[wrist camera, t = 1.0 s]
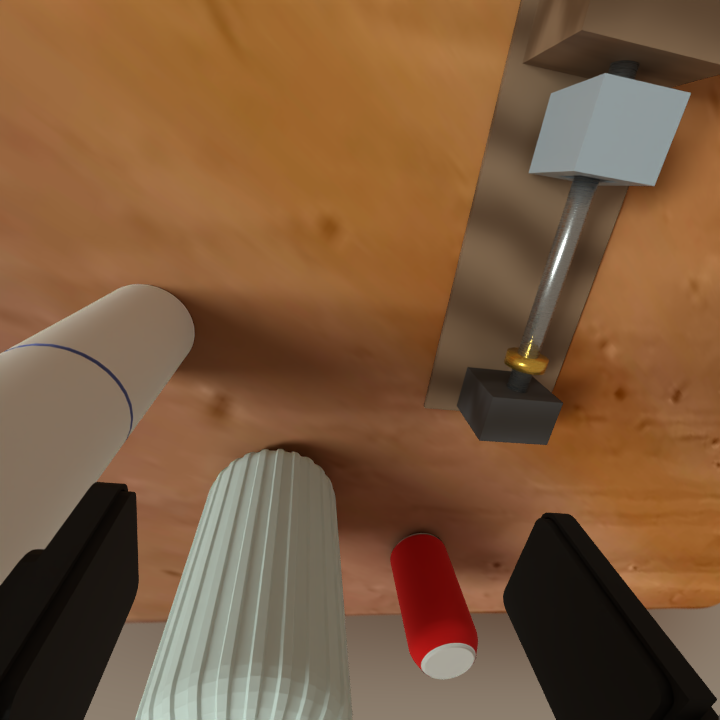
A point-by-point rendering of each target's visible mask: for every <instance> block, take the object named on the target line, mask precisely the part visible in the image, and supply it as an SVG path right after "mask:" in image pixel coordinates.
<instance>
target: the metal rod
mask: <svg viewBox="0 0 720 720" xmlns="http://www.w3.org/2000/svg"><path fill="white" fill-rule="evenodd" d="M639 65H640V64H639V63H638V62H635V61H629V60H621V61H615V62H612V63H611V64H610V67H609V70H608V74H612V75H616V76H620V77H625V78H629V79H633V80H635V77H636V74H637V71H638V68H639ZM599 181H600V179H598V178H593V177H587V176H582V175H575V176H574V179H573V182H572V185H571V188H570V191H569V194H568V197H567V201H566V204H565V207H564V210H563V213H562V216H561V219H560V222H559V225H558V228H557V232H556V235H555V238H554V241H553V244H552V247H551V250H550V253H549V256H548V259H547V263H546V266H545V269H544V272H543V275H542V278H541V281H540V284H539V287H538V290H537V294H536V297H535V300H534V303H533V306H532V309H531V312H530V315H529V318H528V321H527V325H526V328H525V331H524V334H523V337H522V340H521V343H520V346H519V348H517V347H512V348H508V349H507V353H506V356H505V359H504V363H505V364H506V365H507V366H508V367H510V368H512V371H511V374H510V377H509V380H508V383H507V387H508V388H509V389H511V390H512V391H515V392H519V393H526V392H527V389H528V386H529V383H530V380H531V378H532V375H542V374H544V373H545V371H546V368H547V365H548V362H549V359H548V358H547V357H545V356H544V355H542V354H540V352H541V349H542V346H543V343H544V340H545V337H546V334H547V331H548V328H549V326H550V323H551V320H552V317H553V314H554V311H555V308H556V305H557V302H558V299H559V297H560V294H561V291H562V288H563V285H564V282H565V279H566V276H567V273H568V271H569V268H570V265H571V262H572V259H573V256H574V253H575V250H576V247H577V245H578V242H579V239H580V236H581V233H582V230H583V227H584V224H585V221H586V219H587V216H588V213H589V210H590V207H591V204H592V201H593V198H594V195H595V192H596V190H597V187H598V184H599Z"/></svg>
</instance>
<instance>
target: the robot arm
mask: <svg viewBox="0 0 720 720" xmlns="http://www.w3.org/2000/svg"><path fill="white" fill-rule="evenodd" d="M138 583H139V575H138V541H137V508H136V493H135V492H128V488H127V485H126V484H118V483H103V482H95V483H93V484H92V485H91V487H90V488H89V489H88V490H87V492H86V493H85V495H84V496H83V497H82V499H81V500H80V501H79V503H78V504H77V506H76V507H75V508H74V510H73V511H72V512H71V514H70V515H69V517H68V518H67V519H66V521H65V522H64V523H63V525H62V526H61V528H60V529H59V530H58V532H57V533H56V534H55V536H54V537H53V539H52V540H51V541H50V543H49V544H48V545H47V547H46V548H45V549H34V550H31V551H30V552H28V553H27V554H25V555H24V557H23V558H22V559H21V560H20V561H19V562H18V563H17V565H16V566H15V567H14V568H13V570H12V571H11V572H10V574H9V575H8V576H7V577H6V579H5V580H4V581H3V583H2V584H1V585H0V720H84V717H85V715H86V713H87V710H88V708H89V706H90V703H91V701H92V698H93V696H94V694H95V691H96V689H97V687H98V684H99V682H100V679H101V677H102V675H103V672H104V670H105V668H106V665H107V663H108V661H109V658H110V656H111V654H112V651H113V649H114V647H115V644H116V642H117V640H118V637H119V635H120V633H121V630H122V628H123V625H124V623H125V621H126V618H127V616H128V614H129V611H130V609H131V607H132V604H133V602H134V599H135V596H136V593H137V589H138ZM503 601H504V606H505V609H506V611H507V613H508V615H509V617H510V620H511V622H512V624H513V626H514V629H515V631H516V633H517V635H518V637H519V640H520V642H521V644H522V646H523V648H524V650H525V653H526V655H527V657H528V659H529V661H530V663H531V666H532V668H533V670H534V672H535V675H536V676H537V679H538V681H539V683H540V685H541V687H542V690H543V692H544V694H545V696H546V699H547V701H548V703H549V705H550V707H551V709H552V712H553V714H554V716H555V718H556V720H720V715H719V716H718V715H717V714H716V712H715V711H714V710H713V708H712V707H711V706H712V705H713V704H714V703H715V702H716V700H717V699H716V697H715V696H714V695H713V693H711V691H710V690H709V688H708V687H707V686H706V684H705V683H704V682H703V681H702V679H701V678H700V677H699V676H698V674H697V673H696V672H695V671H694V669H693V668H692V667H691V665H690V664H689V663H688V662H687V661H686V659H685V658H684V657H683V655H682V654H681V653H680V651H679V650H678V649H677V648H676V646H675V645H674V644H673V643H672V641H671V640H670V639H669V637H668V636H667V635H666V634H665V632H664V631H663V630H662V629H661V627H660V626H659V625H658V624H657V622H656V621H655V620H654V618H653V617H652V616H651V615H650V613H649V612H648V611H647V610H646V608H645V607H644V606H643V604H642V603H641V602H640V601H639V599H638V598H637V597H636V596H635V594H634V593H633V592H632V590H631V589H630V588H629V587H628V585H627V584H626V583H625V582H624V580H623V579H622V578H621V577H620V575H619V574H618V573H617V571H616V570H615V569H614V568H613V566H612V565H611V564H610V563H609V561H608V560H607V559H606V557H605V556H604V555H603V554H602V552H601V551H600V550H599V549H598V547H597V546H596V545H595V544H594V542H593V541H592V540H591V538H590V537H589V536H588V535H587V533H586V532H585V531H584V530H583V528H582V527H581V526H580V524H579V523H578V522H577V521H576V519H575V518H574V517H573V516H571V515H569V514H561V513H545V514H543V515H542V517H541V518H539V519H538V520H537V521H536V522H535V525H534V527H533V529H532V531H531V533H530V536H529V538H528V540H527V542H526V544H525V547H524V549H523V551H522V553H521V555H520V558H519V560H518V562H517V564H516V566H515V569H514V571H513V573H512V575H511V577H510V580H509V582H508V584H507V586H506V588H505V591H504V594H503Z"/></svg>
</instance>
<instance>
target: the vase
mask: <svg viewBox="0 0 720 720" xmlns="http://www.w3.org/2000/svg"><path fill="white" fill-rule="evenodd" d="M135 720H352V703H351V689H350V676H349V664H348V651H347V639H346V626H345V613H344V600H343V587H342V574H341V562H340V549H339V536H338V524H337V511H336V498H335V493H334V490H333V486H332V483H331V481H330V479H329V477H328V476H326V475H325V472H324V470H323V469H322V468H321V467H320V466H319V465H317V464H314V462H313V460H312V459H310V458H308V457H302V456H300V454H299V453H297V452H294V451H293V452H291V453H290V452H285V451H284V450H283V449H278V450H277V451H269V449H264V450H261V452H258V453H255V452H250V453H248V454H246V455H245V456H244V457H243V458H237V459H236V460H234V461H233V462H231V463H230V465H229V467H226V468H224V469H223V470H222V471H221V472H220V473H219V475H218V477H217V479H216V481H214V483H213V485H212V487H211V489H210V492H209V495H208V498H207V501H206V504H205V507H204V510H203V513H202V516H201V519H200V522H199V525H198V528H197V531H196V534H195V538H194V541H193V544H192V547H191V550H190V553H189V556H188V559H187V562H186V565H185V568H184V571H183V574H182V577H181V580H180V583H179V586H178V589H177V593H176V596H175V599H174V602H173V605H172V608H171V611H170V614H169V617H168V620H167V623H166V626H165V629H164V632H163V635H162V639H161V641H160V645H159V648H158V651H157V654H156V657H155V660H154V663H153V666H152V669H151V672H150V675H149V678H148V681H147V684H146V688H145V691H144V694H143V697H142V700H141V703H140V706H139V709H138V712H137V715H136V718H135Z"/></svg>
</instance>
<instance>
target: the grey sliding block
mask: <svg viewBox="0 0 720 720" xmlns="http://www.w3.org/2000/svg"><path fill="white" fill-rule="evenodd" d="M690 95H691V93H689V92H685V91H680V90H676V89H672V88H668V87H663V86H659V85H655V84H650V83H646V82H642V81H638V80H633V79H629V78H625V77H620V76H616V75H612V74H608V73H604V74H601V75H599V76H596V77H593V78H591V79H588V80H585V81H583V82H580V83H577V84H575V85H572V86H569V87H567V88H564V89H561V90H559V91H556V92H553V93H551V95H550V99H549V102H548V106H547V109H546V113H545V116H544V120H543V124H542V127H541V131H540V134H539V138H538V141H537V145H536V148H535V152H534V155H533V159H532V163H531V166H530V170H529V173H531V174H536V175H542V176H547V177H553V178H558V179H564V180H569V181H573V179H574V176H575V175H582V176H587V177H593V178H598V179H600V181H599V184H598V186H655V183H656V181H657V178H658V176H659V173H660V171H661V168H662V166H663V163H664V160H665V158H666V155H667V153H668V150H669V148H670V145H671V143H672V140H673V138H674V135H675V133H676V130H677V128H678V125H679V123H680V120H681V117H682V115H683V112H684V110H685V107H686V105H687V102H688V100H689V97H690Z"/></svg>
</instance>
